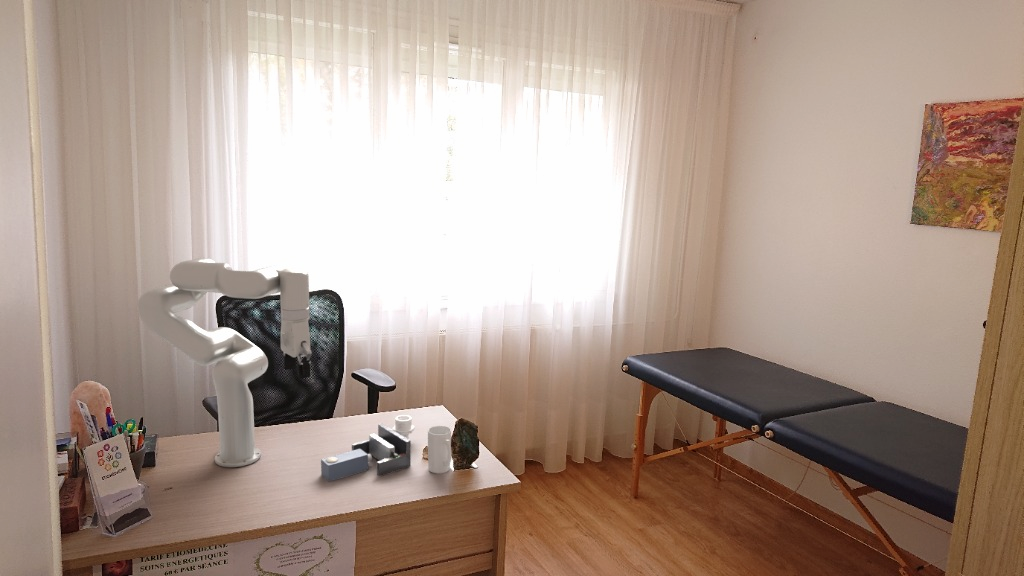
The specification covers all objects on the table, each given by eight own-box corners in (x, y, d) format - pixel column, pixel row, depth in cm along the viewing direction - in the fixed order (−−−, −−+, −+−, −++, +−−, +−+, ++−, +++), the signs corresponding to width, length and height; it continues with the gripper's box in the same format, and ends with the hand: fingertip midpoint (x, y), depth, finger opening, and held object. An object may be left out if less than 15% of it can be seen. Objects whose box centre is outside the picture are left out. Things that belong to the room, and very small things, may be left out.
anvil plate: (394, 470, 188) (394, 451, 187) (369, 453, 199) (369, 434, 198) (399, 469, 189) (399, 449, 188) (374, 451, 200) (373, 433, 199)
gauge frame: (379, 476, 186) (378, 450, 184) (351, 456, 197) (351, 431, 196) (410, 466, 192) (410, 440, 191) (382, 447, 204) (382, 423, 203)
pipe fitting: (402, 435, 214) (402, 412, 212) (418, 441, 210) (418, 417, 208) (388, 441, 209) (388, 418, 207) (404, 448, 204) (404, 423, 203)
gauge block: (321, 475, 185) (321, 458, 184) (366, 462, 194) (366, 446, 193) (328, 482, 182) (328, 464, 181) (374, 468, 191) (374, 452, 190)
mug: (423, 466, 192) (423, 428, 190) (443, 461, 196) (444, 423, 194) (439, 480, 184) (440, 440, 182) (460, 475, 188) (461, 435, 186)
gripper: (269, 309, 185) (272, 367, 189) (295, 322, 173) (296, 384, 176) (295, 306, 190) (297, 363, 193) (321, 318, 178) (323, 378, 181)
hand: (297, 373), depth 185 cm, fingers open, 9 cm apart
